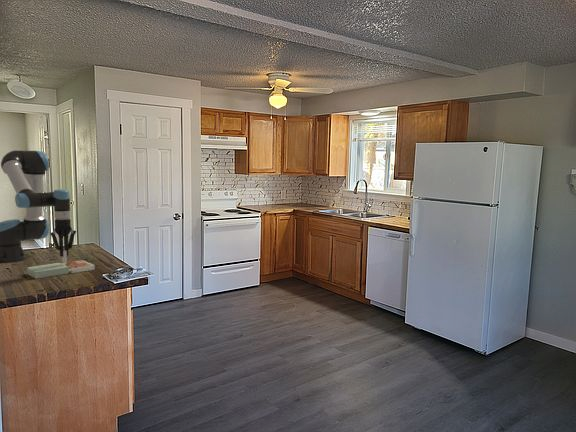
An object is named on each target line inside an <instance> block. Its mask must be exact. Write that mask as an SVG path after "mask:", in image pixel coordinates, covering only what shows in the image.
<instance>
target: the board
mask: <svg viewBox="0 0 576 432" xmlns="http://www.w3.org/2000/svg"><path fill="white" fill-rule="evenodd" d="M26 274H27V275H28V276H30V277H32V278H34V279H35V280H38V279H44V278H49V277H56V276H62V275H67V274H70V273H69V267H68V266H66V265H64V264H61V262H56V263H54V262H53V263H47V264H41V265H34V266H29V267H28V266H27V267H26Z"/></svg>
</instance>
